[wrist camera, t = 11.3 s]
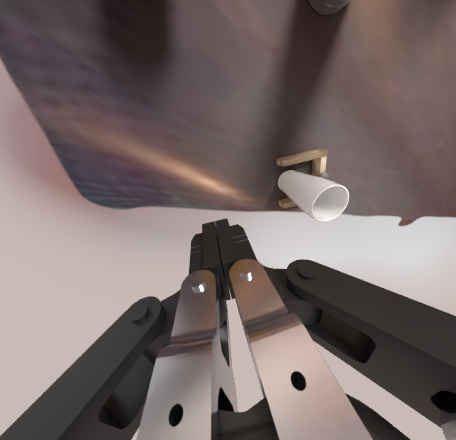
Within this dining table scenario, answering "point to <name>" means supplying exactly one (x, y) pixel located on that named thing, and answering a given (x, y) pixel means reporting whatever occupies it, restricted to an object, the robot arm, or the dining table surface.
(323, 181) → the drinking glass
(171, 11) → the dining table surface
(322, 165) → the oak dock
